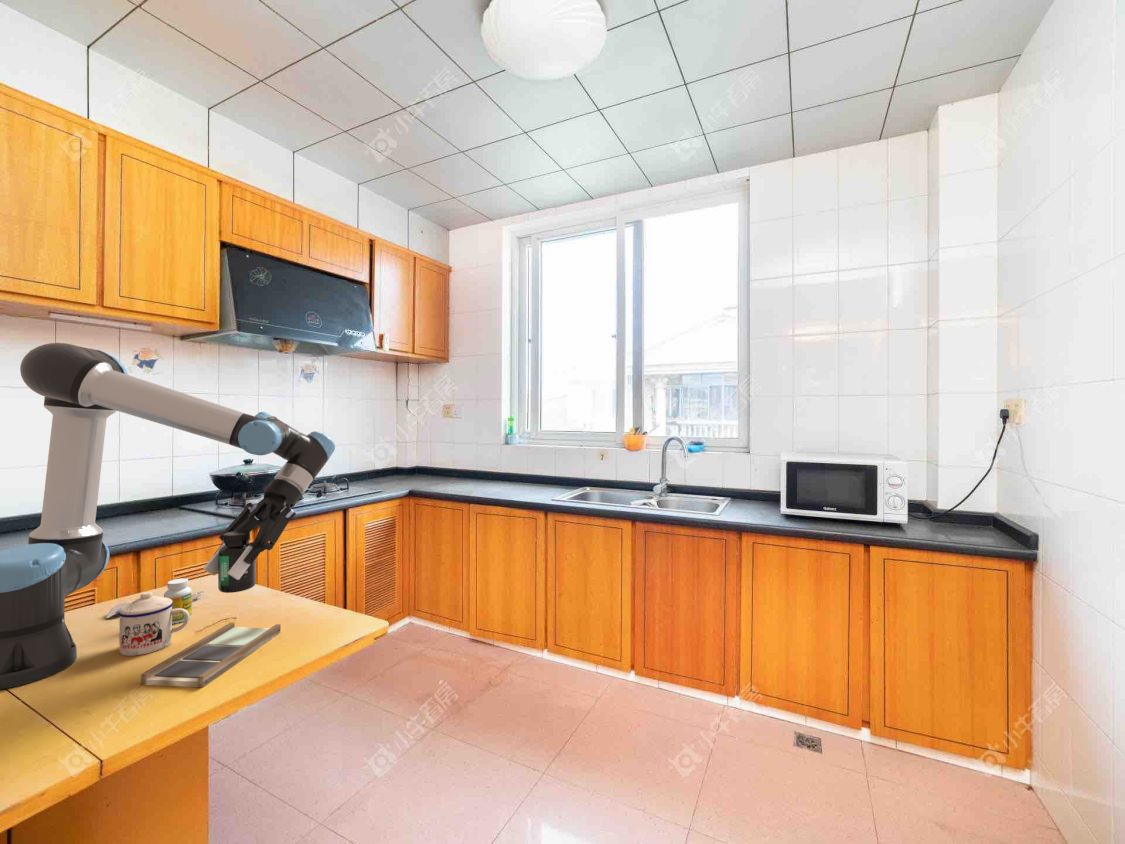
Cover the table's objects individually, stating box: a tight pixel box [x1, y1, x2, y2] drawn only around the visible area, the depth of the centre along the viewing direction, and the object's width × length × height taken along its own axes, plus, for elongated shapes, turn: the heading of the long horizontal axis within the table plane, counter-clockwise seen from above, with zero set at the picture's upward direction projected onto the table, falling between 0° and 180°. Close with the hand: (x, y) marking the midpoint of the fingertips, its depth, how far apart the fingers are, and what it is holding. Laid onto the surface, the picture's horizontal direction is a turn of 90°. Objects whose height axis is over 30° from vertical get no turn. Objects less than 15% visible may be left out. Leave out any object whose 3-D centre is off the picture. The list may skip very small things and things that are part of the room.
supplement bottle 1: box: [163, 578, 193, 625], centre depth 121 cm, size 5×5×10 cm
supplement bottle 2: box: [217, 531, 257, 594], centre depth 108 cm, size 7×7×12 cm
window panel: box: [140, 622, 281, 688], centre depth 103 cm, size 12×23×2 cm, turn 177°
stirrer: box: [106, 590, 205, 619], centre depth 129 cm, size 20×4×5 cm
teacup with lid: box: [117, 591, 190, 657], centre depth 107 cm, size 12×9×12 cm
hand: (220, 574), depth 105 cm, fingers closed on supplement bottle 2, 7 cm apart
